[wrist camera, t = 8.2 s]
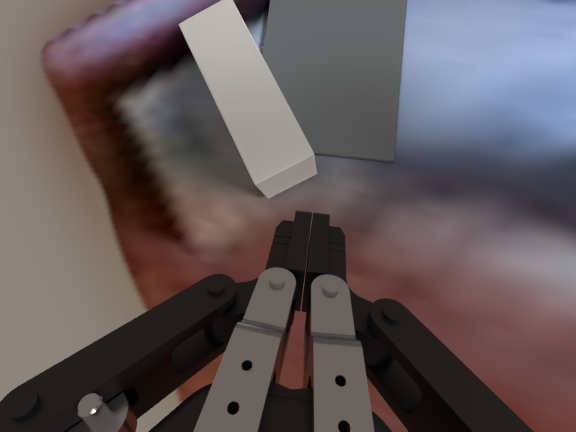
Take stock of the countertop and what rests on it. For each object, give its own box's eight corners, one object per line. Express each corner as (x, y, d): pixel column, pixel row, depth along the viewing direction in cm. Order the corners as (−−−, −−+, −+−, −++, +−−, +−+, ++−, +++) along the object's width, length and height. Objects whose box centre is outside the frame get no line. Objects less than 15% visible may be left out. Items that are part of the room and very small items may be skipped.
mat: (275, -29, 38) (275, -34, 37) (407, -21, 36) (409, -26, 36) (249, 147, 34) (248, 145, 34) (392, 162, 33) (393, 160, 33)
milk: (315, 155, 26) (218, -30, 31) (253, 186, 27) (165, -1, 31) (317, 174, 32) (236, 18, 37) (267, 200, 33) (192, 41, 37)
